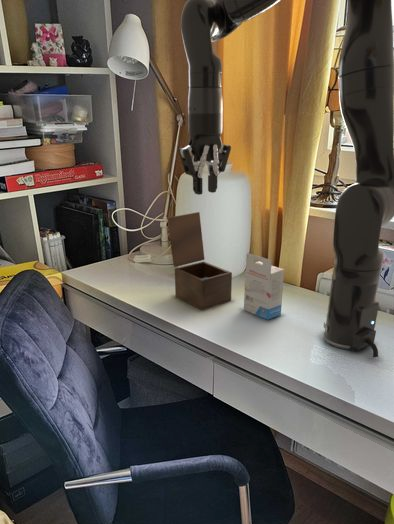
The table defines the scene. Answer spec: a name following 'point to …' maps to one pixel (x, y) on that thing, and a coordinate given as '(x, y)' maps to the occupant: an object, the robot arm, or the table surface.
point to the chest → (203, 285)
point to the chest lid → (186, 239)
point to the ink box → (263, 287)
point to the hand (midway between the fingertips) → (205, 192)
